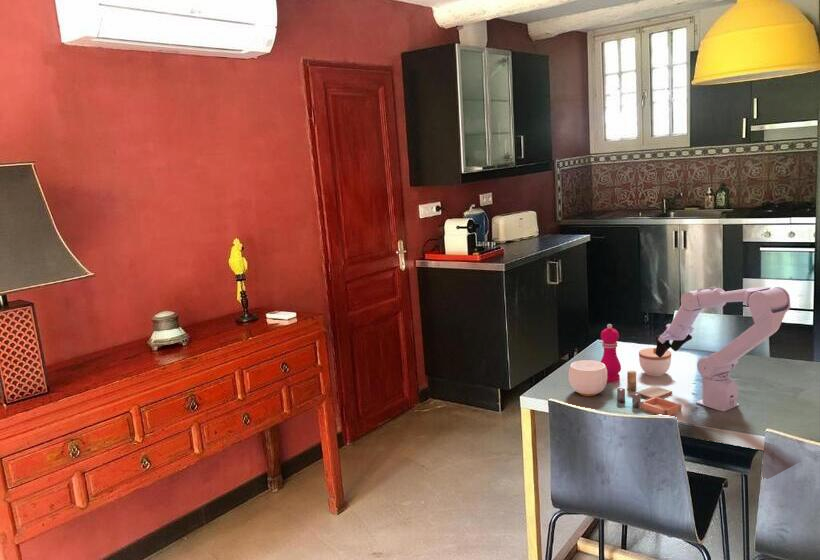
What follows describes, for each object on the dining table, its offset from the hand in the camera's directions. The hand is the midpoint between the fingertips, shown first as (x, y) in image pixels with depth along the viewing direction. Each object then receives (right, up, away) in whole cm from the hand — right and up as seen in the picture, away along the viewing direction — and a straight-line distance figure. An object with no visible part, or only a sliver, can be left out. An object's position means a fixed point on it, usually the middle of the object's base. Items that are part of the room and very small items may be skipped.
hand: (665, 352), depth 222 cm
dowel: (-11, -12, +2) cm, 16 cm away
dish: (-8, -16, -17) cm, 24 cm away
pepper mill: (-15, -11, +12) cm, 22 cm away
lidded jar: (+2, -9, +15) cm, 18 cm away
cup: (-25, -14, +1) cm, 29 cm away
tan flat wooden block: (-5, -14, -4) cm, 15 cm away
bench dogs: (-16, -15, -10) cm, 24 cm away
